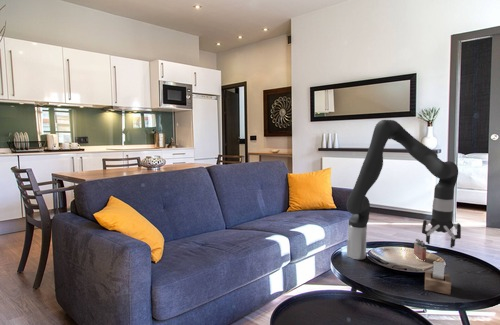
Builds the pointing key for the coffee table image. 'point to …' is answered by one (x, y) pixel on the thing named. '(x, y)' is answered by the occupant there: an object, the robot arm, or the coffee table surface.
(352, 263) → the coffee table surface
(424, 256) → the terracotta planter
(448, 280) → the slot holder
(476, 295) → the coffee table surface
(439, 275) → the square peg
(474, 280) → the coffee table surface
